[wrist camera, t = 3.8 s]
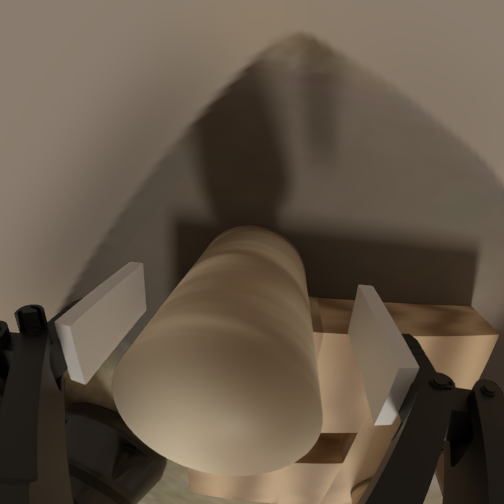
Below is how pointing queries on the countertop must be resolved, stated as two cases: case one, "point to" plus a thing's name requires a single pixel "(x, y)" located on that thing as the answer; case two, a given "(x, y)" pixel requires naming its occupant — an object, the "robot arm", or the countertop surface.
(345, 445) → the seat board
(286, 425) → the peg
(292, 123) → the countertop surface
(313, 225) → the countertop surface
